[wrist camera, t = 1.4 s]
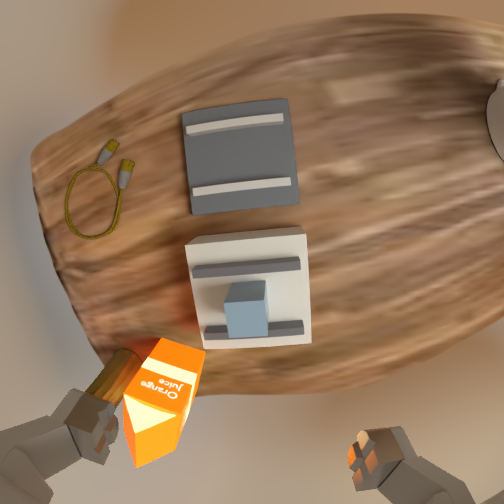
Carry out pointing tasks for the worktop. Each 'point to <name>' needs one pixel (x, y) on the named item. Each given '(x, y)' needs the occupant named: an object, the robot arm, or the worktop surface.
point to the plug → (247, 309)
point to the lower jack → (240, 157)
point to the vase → (116, 376)
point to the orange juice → (160, 400)
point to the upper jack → (246, 270)
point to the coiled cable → (123, 181)
